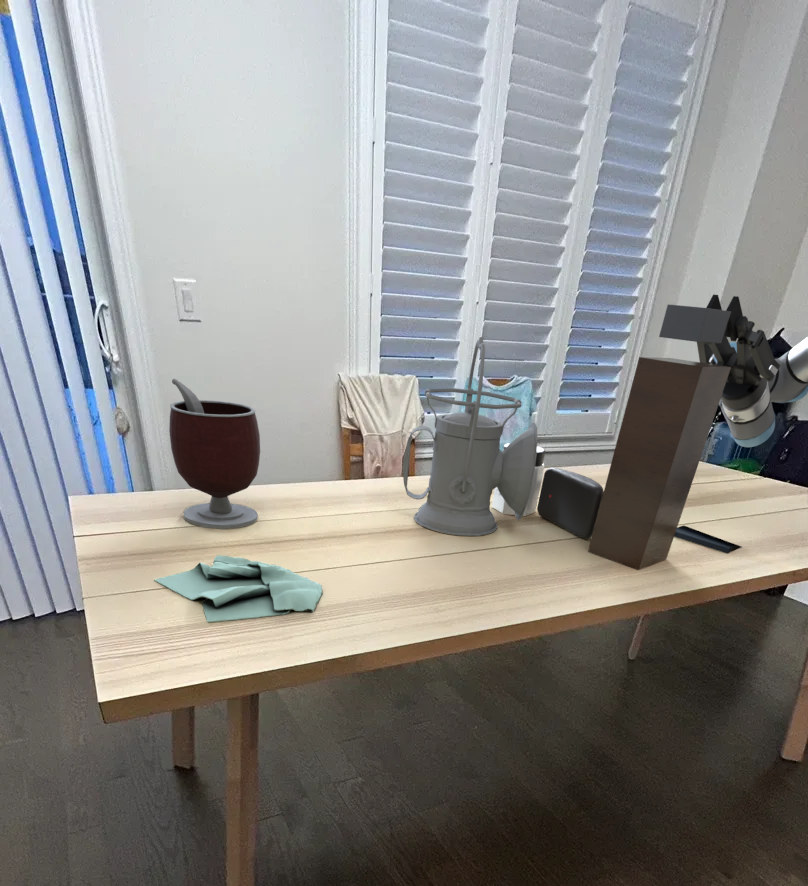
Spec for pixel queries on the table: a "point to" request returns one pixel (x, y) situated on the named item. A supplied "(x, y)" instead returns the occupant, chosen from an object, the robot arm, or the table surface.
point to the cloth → (244, 589)
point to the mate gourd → (215, 456)
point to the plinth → (656, 458)
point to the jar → (503, 507)
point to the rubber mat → (705, 539)
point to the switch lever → (695, 324)
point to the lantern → (473, 464)
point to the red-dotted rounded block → (570, 501)
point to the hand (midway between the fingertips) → (721, 304)
